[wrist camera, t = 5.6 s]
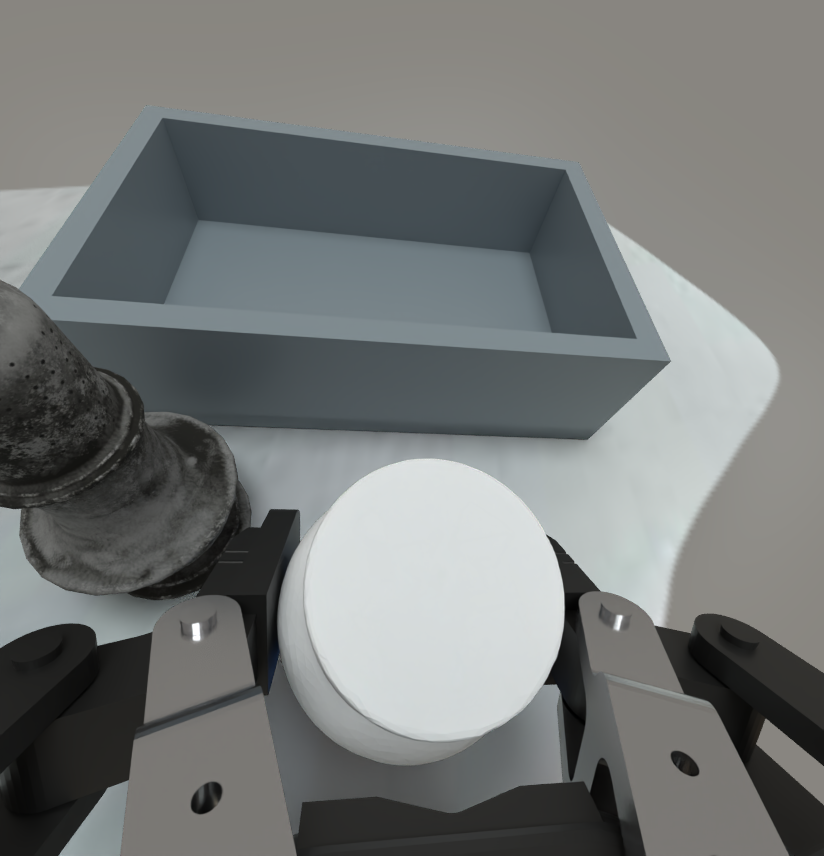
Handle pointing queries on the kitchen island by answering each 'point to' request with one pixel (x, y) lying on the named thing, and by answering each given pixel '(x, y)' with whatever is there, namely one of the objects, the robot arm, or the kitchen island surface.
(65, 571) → the grey stone chess piece
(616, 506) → the kitchen island surface
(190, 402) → the tote
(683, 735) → the robot arm
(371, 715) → the pill bottle
